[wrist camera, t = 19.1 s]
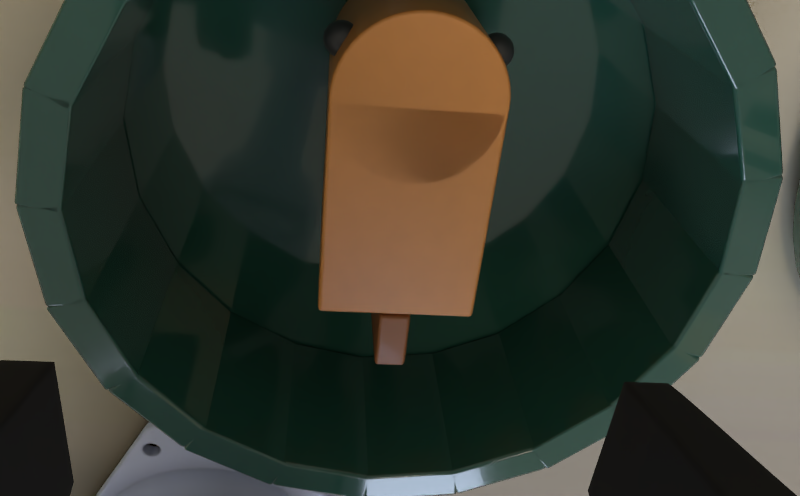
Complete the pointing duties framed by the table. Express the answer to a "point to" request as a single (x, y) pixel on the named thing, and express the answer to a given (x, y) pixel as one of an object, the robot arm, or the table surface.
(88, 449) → the table surface
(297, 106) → the pot
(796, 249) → the pot lid
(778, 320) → the table surface
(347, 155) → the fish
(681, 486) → the robot arm
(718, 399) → the table surface
